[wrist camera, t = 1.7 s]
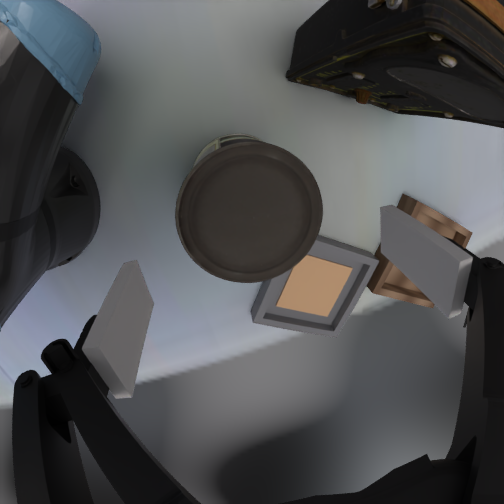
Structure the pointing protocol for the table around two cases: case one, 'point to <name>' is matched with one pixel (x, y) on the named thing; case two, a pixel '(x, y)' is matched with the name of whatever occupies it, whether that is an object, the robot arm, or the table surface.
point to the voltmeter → (408, 56)
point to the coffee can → (248, 209)
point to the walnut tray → (390, 277)
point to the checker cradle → (316, 289)
